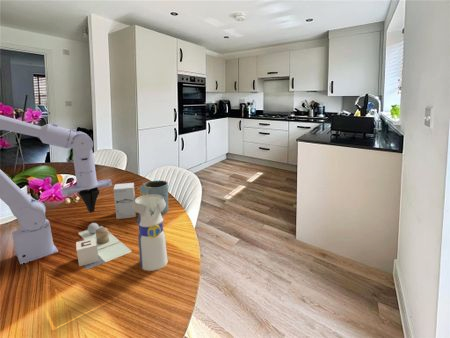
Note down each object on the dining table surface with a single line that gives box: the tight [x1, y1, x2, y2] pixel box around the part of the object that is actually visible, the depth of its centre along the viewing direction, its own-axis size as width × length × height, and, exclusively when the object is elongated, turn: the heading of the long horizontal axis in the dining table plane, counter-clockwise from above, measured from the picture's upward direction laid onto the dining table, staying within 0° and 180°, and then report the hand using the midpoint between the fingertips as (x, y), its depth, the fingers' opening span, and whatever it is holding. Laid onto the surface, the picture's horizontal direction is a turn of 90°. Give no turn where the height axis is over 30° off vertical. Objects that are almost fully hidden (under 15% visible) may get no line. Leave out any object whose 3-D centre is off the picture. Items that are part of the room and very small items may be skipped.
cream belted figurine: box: [133, 182, 169, 272], centre depth 73 cm, size 8×9×25 cm
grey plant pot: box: [143, 180, 169, 216], centre depth 111 cm, size 10×10×12 cm
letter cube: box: [75, 238, 99, 267], centre depth 78 cm, size 5×5×5 cm
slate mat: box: [83, 255, 106, 271], centre depth 78 cm, size 5×8×1 cm, turn 44°
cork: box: [96, 227, 109, 244], centre depth 88 cm, size 4×4×4 cm
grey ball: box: [87, 222, 100, 233], centre depth 94 cm, size 4×4×4 cm
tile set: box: [77, 225, 133, 263], centre depth 88 cm, size 8×25×1 cm, turn 44°
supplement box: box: [113, 182, 137, 220], centre depth 108 cm, size 7×7×13 cm
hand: (91, 211), depth 88 cm, fingers closed
